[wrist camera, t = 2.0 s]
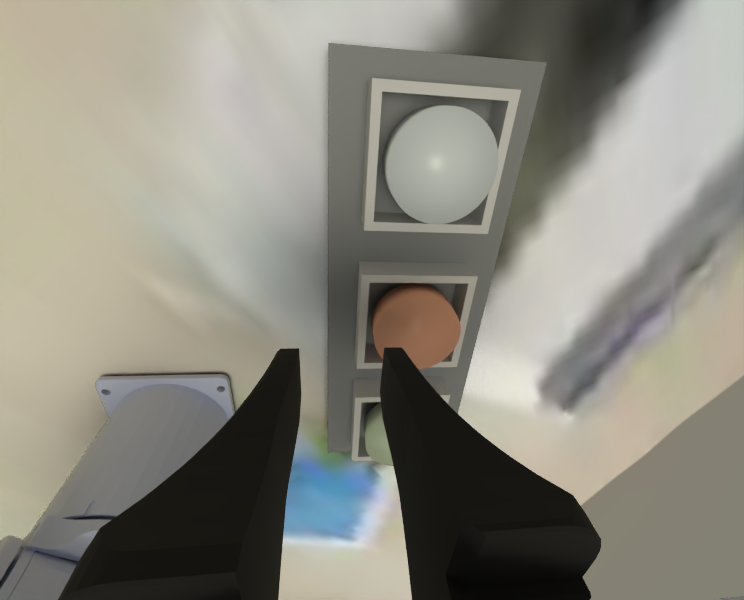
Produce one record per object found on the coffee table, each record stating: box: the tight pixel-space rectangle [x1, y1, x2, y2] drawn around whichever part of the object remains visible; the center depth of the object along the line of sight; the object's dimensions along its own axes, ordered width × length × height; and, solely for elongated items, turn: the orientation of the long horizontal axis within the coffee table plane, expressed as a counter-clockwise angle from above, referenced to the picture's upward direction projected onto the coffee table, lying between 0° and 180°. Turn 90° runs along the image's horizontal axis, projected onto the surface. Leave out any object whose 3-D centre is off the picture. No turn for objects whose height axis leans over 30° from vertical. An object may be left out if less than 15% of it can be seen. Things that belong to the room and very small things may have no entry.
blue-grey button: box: [383, 105, 498, 224], centre depth 15 cm, size 4×4×2 cm
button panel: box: [328, 43, 547, 461], centre depth 20 cm, size 24×9×4 cm, turn 176°
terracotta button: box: [371, 283, 461, 370], centre depth 19 cm, size 4×4×2 cm
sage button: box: [364, 403, 393, 466], centre depth 22 cm, size 4×4×2 cm
